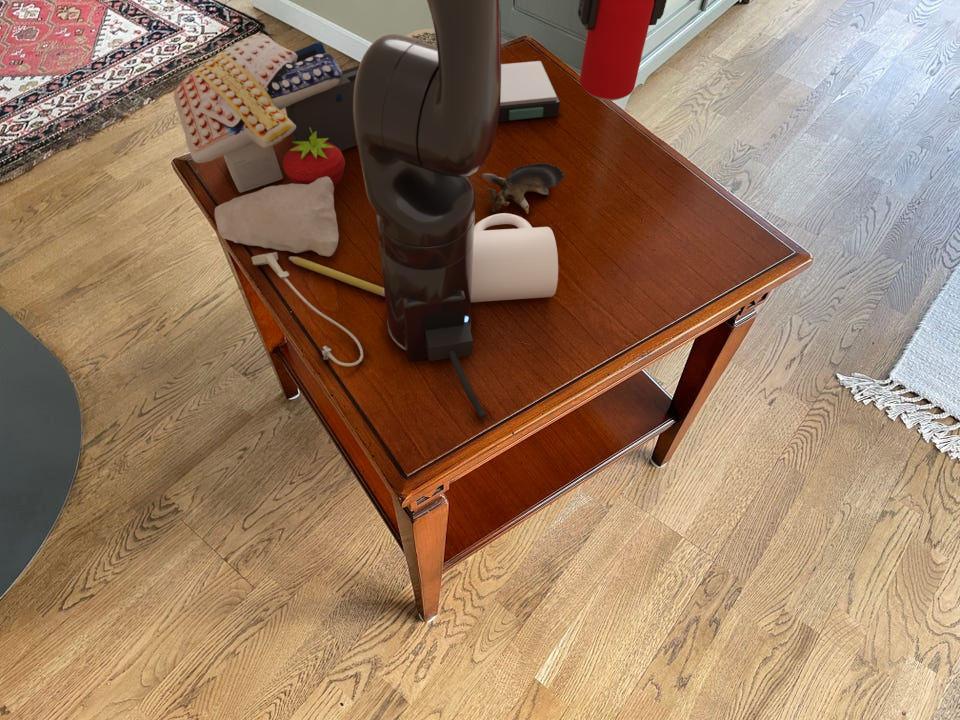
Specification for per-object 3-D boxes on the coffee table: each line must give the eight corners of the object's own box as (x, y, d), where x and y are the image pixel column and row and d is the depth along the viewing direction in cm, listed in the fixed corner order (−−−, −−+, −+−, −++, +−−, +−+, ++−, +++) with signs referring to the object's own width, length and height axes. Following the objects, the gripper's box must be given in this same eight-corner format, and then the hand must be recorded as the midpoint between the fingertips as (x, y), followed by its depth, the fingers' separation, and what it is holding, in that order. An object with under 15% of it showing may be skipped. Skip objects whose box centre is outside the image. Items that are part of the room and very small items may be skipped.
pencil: (287, 256, 85) (286, 250, 84) (390, 293, 82) (390, 288, 82) (283, 261, 85) (281, 255, 84) (386, 299, 82) (386, 294, 81)
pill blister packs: (361, 90, 88) (278, 31, 92) (352, 56, 83) (265, -5, 86) (236, 202, 83) (154, 134, 86) (217, 173, 78) (131, 102, 81)
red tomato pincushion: (290, 184, 92) (274, 119, 84) (347, 179, 93) (338, 113, 85) (291, 215, 89) (276, 151, 81) (351, 209, 90) (342, 145, 82)
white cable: (364, 376, 79) (289, 251, 87) (370, 358, 76) (292, 231, 84) (321, 391, 76) (246, 260, 84) (325, 373, 74) (248, 240, 81)
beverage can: (632, 75, 82) (657, -31, 72) (633, 107, 78) (659, 0, 68) (579, 70, 82) (596, -37, 72) (577, 102, 78) (595, -6, 69)
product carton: (284, 179, 93) (270, 133, 87) (239, 194, 91) (221, 148, 85) (270, 152, 96) (256, 106, 90) (226, 165, 94) (208, 119, 88)
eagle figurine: (520, 231, 87) (574, 192, 89) (496, 181, 84) (552, 141, 86) (491, 224, 94) (541, 188, 96) (467, 177, 90) (520, 140, 92)
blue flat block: (344, 100, 90) (338, 102, 90) (311, 106, 102) (307, 108, 101) (322, 40, 87) (316, 42, 87) (291, 53, 99) (286, 55, 98)
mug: (552, 310, 82) (562, 263, 75) (467, 317, 81) (469, 269, 74) (535, 237, 89) (542, 188, 82) (456, 242, 88) (457, 192, 81)
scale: (558, 118, 103) (561, 100, 100) (492, 125, 101) (493, 106, 99) (540, 76, 109) (542, 58, 106) (477, 82, 107) (477, 64, 105)
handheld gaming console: (437, 102, 104) (436, 38, 95) (447, 112, 102) (447, 48, 94) (294, 155, 96) (279, 89, 87) (302, 166, 94) (289, 100, 86)
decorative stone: (339, 181, 87) (219, 188, 87) (332, 171, 83) (205, 179, 83) (344, 259, 87) (223, 266, 87) (336, 254, 83) (209, 261, 83)
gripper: (588, -144, 57) (561, 49, 71) (753, -151, 59) (695, 38, 73) (564, -179, 61) (543, 9, 75) (718, -185, 63) (670, 0, 77)
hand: (618, 23), depth 74 cm, fingers closed on beverage can, 6 cm apart
